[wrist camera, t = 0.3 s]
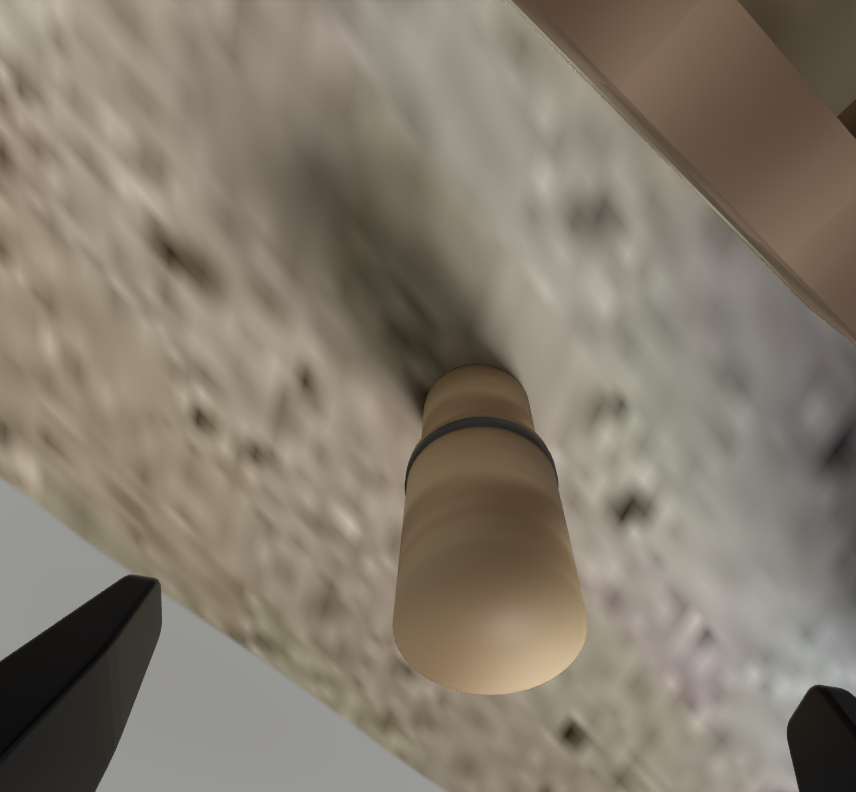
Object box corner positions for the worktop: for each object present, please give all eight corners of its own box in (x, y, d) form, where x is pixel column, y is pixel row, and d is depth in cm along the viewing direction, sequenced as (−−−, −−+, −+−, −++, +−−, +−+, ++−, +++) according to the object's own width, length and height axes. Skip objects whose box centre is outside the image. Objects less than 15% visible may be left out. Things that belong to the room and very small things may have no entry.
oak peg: (567, 407, 22) (632, 624, 14) (480, 485, 23) (494, 721, 15) (471, 329, 21) (482, 518, 13) (387, 417, 22) (350, 633, 14)
